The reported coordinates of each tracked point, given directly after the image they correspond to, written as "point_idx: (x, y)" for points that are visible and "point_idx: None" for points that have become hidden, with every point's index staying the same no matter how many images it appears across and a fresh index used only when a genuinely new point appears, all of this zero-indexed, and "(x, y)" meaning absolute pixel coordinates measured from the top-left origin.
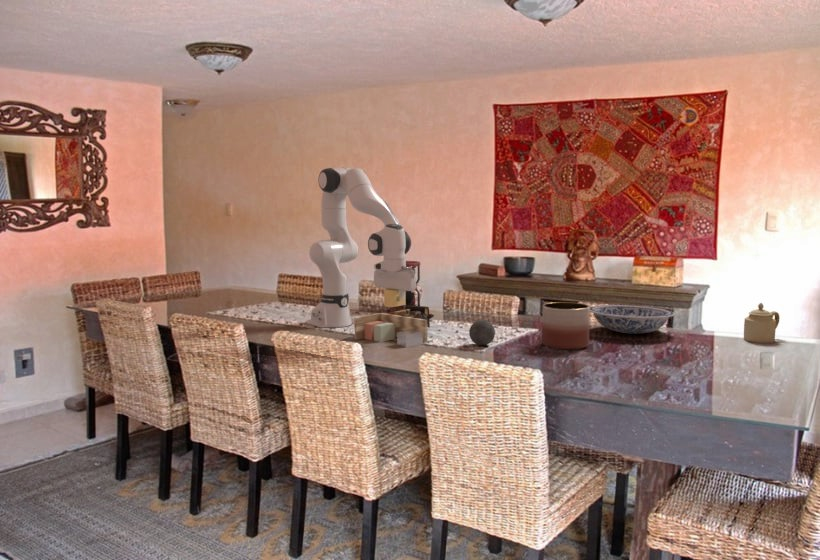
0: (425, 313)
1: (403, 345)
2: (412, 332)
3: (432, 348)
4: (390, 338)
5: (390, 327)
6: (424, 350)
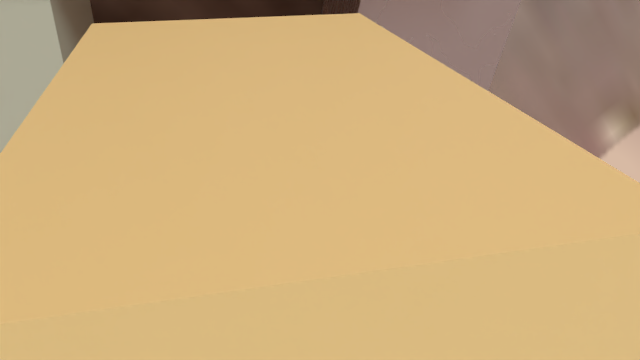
0: None
1: None
2: (444, 44)
3: (601, 16)
4: (89, 14)
5: (67, 37)
6: (578, 104)
